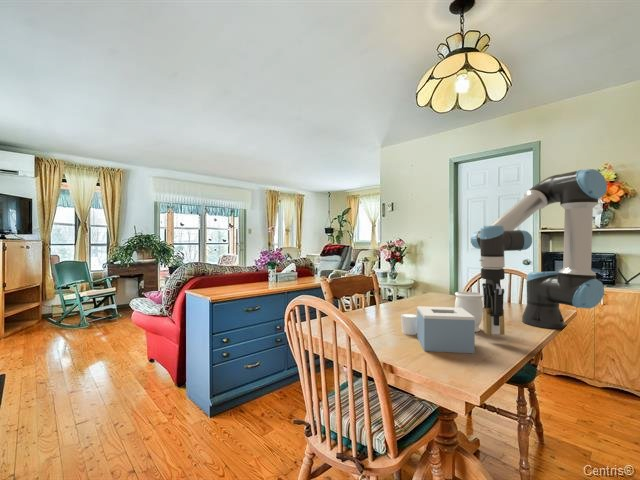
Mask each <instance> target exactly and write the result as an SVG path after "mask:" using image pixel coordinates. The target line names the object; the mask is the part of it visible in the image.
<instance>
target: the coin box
mask: <svg viewBox="0 0 640 480" xmlns="http://www.w3.org/2000/svg"><path fill="white" fill-rule="evenodd" d="M416 309H417V310H416V312H417V313H416V315H417V334H416V338H417V340H418V342H419V344H420V346H421V348H422V349H423V351H424V352H439V353H456V354H457V353H459V354H475V353H476V352H475V349H476V348H475V347H476V345H475V344H476V343H475V341H476V338H475V336H476V335H475V334H476V332H475V317H474V316H472V315H471V314H470V313H468V312H467V311H466V310H464V309H463V308H459V307H455V306H454V307H453V306H452V307H450V306H424V305H423V306H419V305H418V306H417V307H416Z"/></svg>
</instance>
